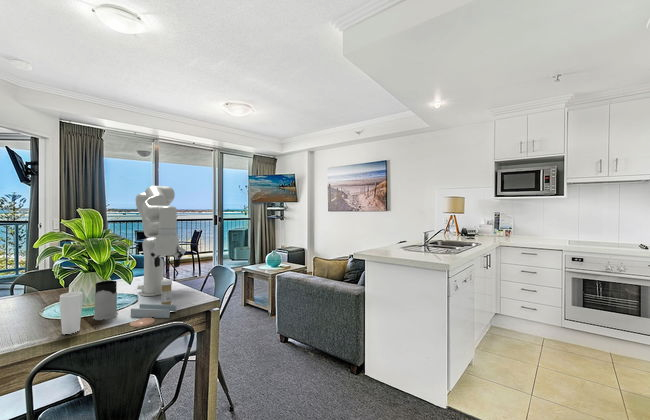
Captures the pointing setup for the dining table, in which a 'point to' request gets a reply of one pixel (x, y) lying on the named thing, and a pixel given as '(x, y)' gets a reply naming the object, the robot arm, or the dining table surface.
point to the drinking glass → (71, 311)
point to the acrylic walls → (153, 310)
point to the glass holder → (105, 300)
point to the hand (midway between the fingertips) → (167, 266)
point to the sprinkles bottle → (166, 292)
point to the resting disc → (142, 322)
